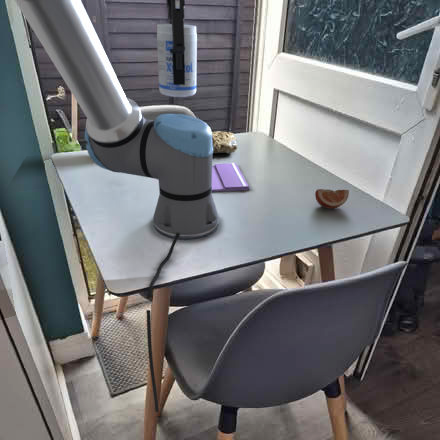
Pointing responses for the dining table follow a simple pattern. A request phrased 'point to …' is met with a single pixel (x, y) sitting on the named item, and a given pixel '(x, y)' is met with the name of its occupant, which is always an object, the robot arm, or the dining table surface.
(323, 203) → the fruit slice
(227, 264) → the dining table surface
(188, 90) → the supplement tub
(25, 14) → the robot arm
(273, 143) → the dining table surface
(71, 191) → the dining table surface
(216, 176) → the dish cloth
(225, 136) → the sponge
